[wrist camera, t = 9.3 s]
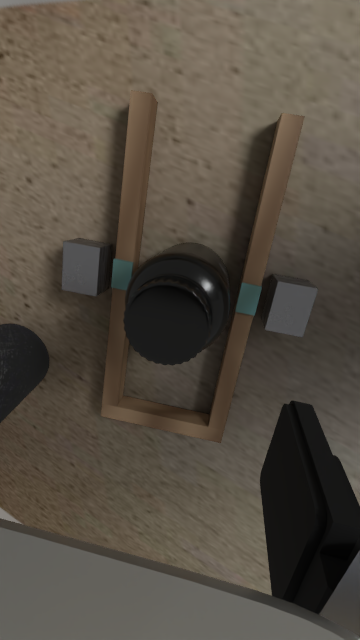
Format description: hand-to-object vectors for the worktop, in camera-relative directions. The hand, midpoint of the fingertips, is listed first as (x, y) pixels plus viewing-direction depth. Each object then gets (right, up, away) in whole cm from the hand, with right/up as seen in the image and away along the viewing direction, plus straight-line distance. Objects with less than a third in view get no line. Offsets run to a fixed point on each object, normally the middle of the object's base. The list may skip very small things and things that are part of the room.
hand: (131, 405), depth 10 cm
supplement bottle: (+2, +6, +18) cm, 19 cm away
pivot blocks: (+2, +6, +18) cm, 19 cm away
